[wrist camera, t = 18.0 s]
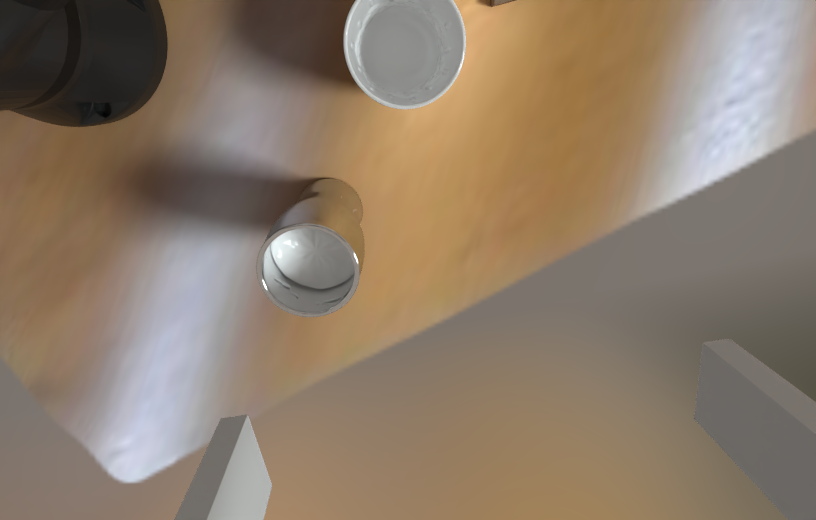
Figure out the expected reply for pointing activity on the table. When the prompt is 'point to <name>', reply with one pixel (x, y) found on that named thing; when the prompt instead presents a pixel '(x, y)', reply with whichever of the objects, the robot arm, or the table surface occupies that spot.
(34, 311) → the table surface
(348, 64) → the white cup
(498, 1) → the brown flat block
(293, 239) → the beer glass
